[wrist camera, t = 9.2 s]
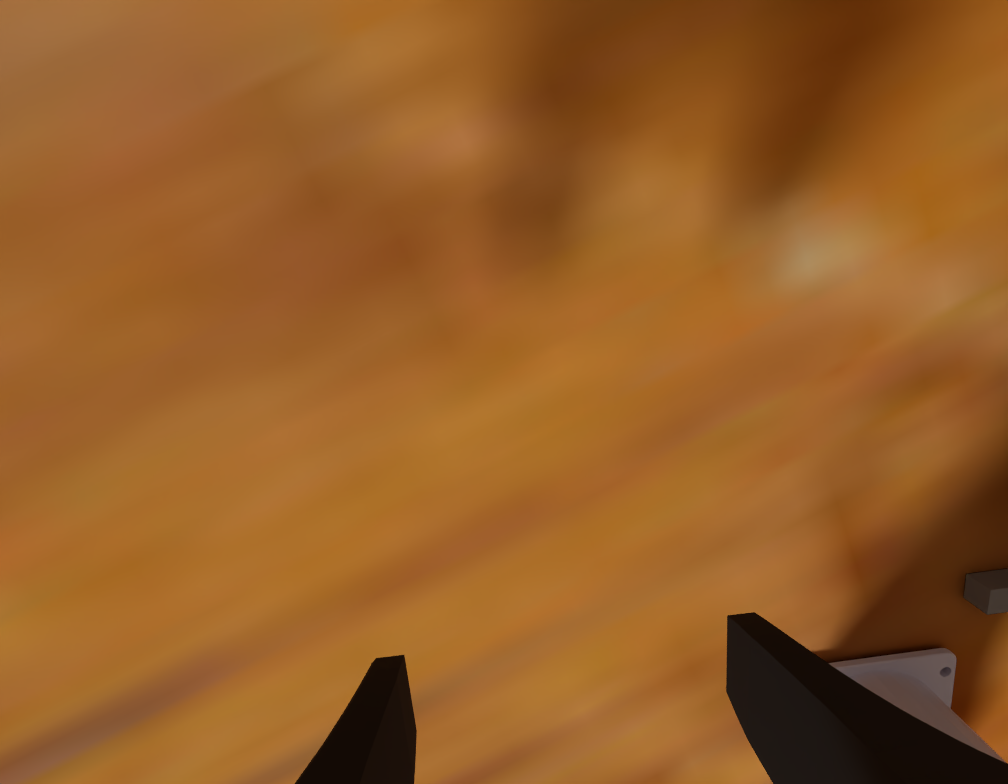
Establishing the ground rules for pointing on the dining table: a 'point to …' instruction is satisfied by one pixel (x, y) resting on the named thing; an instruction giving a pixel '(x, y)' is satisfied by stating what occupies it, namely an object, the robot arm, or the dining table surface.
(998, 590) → the gray square frame
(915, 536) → the dining table surface
